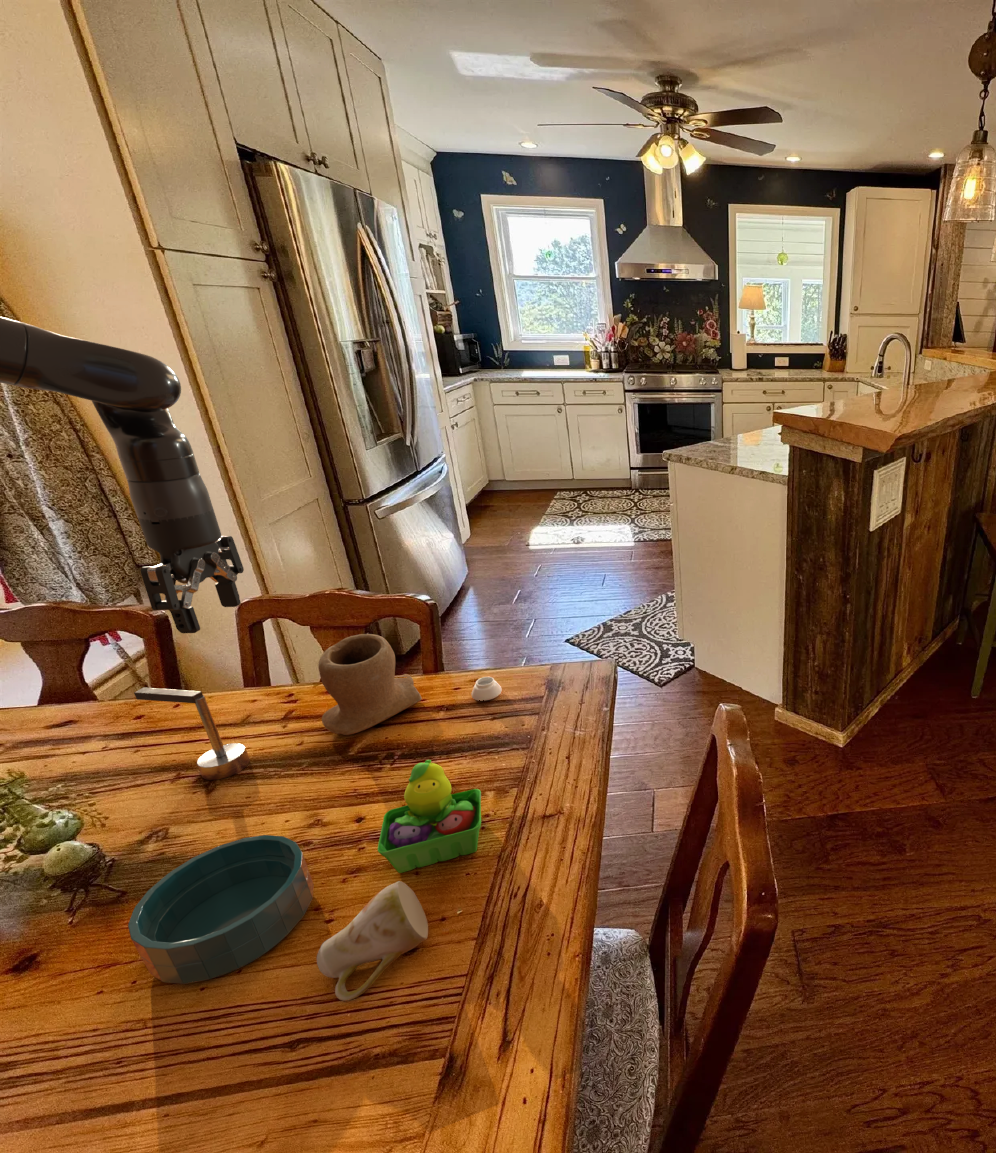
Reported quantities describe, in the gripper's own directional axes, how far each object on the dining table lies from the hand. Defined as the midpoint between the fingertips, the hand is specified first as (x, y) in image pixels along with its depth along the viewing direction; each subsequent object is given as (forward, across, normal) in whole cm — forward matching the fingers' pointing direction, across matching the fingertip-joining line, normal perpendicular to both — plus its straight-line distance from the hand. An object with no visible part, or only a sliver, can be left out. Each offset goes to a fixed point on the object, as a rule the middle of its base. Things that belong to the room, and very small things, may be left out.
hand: (212, 618), depth 88 cm
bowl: (+23, +32, +17) cm, 43 cm away
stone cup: (+23, -8, +15) cm, 29 cm away
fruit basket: (+23, +23, +35) cm, 48 cm away
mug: (+23, +38, +34) cm, 56 cm away
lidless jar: (+23, -12, +31) cm, 41 cm away
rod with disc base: (+23, +3, -5) cm, 24 cm away
